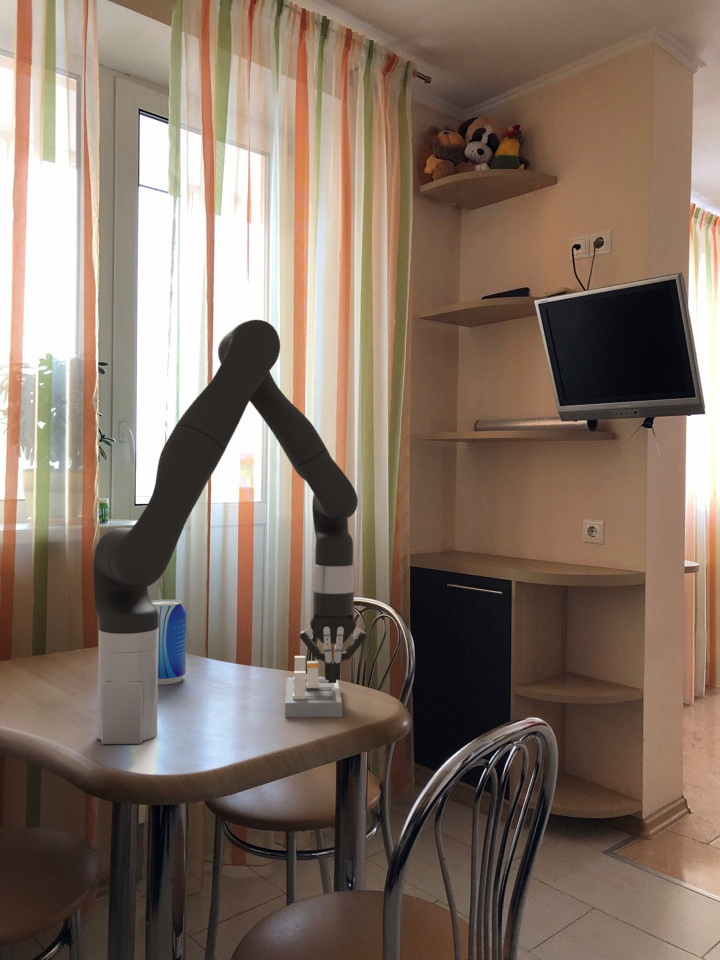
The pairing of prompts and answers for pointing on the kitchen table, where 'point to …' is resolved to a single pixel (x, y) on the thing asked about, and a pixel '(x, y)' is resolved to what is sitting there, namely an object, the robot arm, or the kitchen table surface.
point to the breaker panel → (311, 695)
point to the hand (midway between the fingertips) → (332, 682)
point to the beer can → (171, 641)
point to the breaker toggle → (312, 674)
